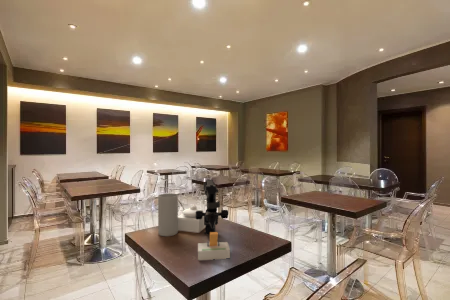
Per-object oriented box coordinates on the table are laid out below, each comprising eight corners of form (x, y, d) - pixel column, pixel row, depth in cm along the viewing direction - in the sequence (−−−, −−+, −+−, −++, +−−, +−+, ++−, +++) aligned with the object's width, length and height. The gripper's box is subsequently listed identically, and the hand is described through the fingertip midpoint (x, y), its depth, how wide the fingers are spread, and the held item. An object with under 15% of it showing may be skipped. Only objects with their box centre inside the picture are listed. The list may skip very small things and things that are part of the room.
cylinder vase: (168, 238, 148) (168, 198, 148) (154, 234, 154) (154, 195, 154) (181, 232, 159) (181, 194, 158) (168, 228, 165) (168, 192, 165)
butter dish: (175, 230, 162) (175, 207, 162) (187, 222, 180) (187, 201, 179) (199, 233, 157) (199, 209, 157) (209, 224, 174) (209, 203, 174)
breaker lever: (209, 243, 126) (209, 232, 122) (216, 243, 127) (217, 231, 122) (209, 245, 125) (209, 234, 120) (217, 245, 125) (217, 234, 121)
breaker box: (198, 251, 129) (198, 240, 129) (227, 250, 131) (227, 239, 130) (198, 260, 119) (198, 248, 119) (229, 258, 121) (229, 247, 121)
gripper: (195, 196, 136) (195, 222, 126) (228, 196, 138) (230, 220, 128) (195, 206, 144) (195, 231, 134) (226, 206, 146) (228, 230, 136)
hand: (212, 228), depth 132 cm, fingers closed
